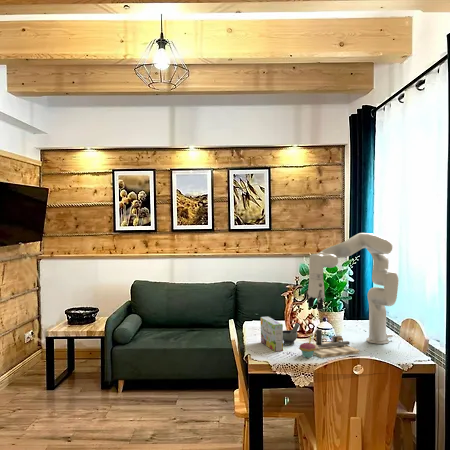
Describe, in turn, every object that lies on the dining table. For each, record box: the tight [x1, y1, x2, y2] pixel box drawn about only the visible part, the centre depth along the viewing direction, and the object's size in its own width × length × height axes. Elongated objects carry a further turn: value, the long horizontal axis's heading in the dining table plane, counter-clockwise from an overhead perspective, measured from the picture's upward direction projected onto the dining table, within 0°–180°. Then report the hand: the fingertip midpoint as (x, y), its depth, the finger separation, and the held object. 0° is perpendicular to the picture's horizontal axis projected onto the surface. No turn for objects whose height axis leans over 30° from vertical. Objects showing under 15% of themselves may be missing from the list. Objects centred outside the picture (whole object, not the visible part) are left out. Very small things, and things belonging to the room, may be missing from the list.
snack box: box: [259, 316, 284, 353], centre depth 298 cm, size 21×6×15 cm, turn 18°
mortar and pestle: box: [283, 322, 301, 346], centre depth 304 cm, size 11×9×12 cm
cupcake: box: [298, 334, 316, 358], centre depth 278 cm, size 9×8×12 cm
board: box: [312, 340, 361, 359], centre depth 290 cm, size 24×22×2 cm
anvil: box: [331, 334, 343, 342], centre depth 303 cm, size 5×2×3 cm, turn 111°
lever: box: [315, 328, 351, 348], centre depth 291 cm, size 20×3×10 cm, turn 111°
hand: (315, 308), depth 289 cm, fingers open, 9 cm apart
